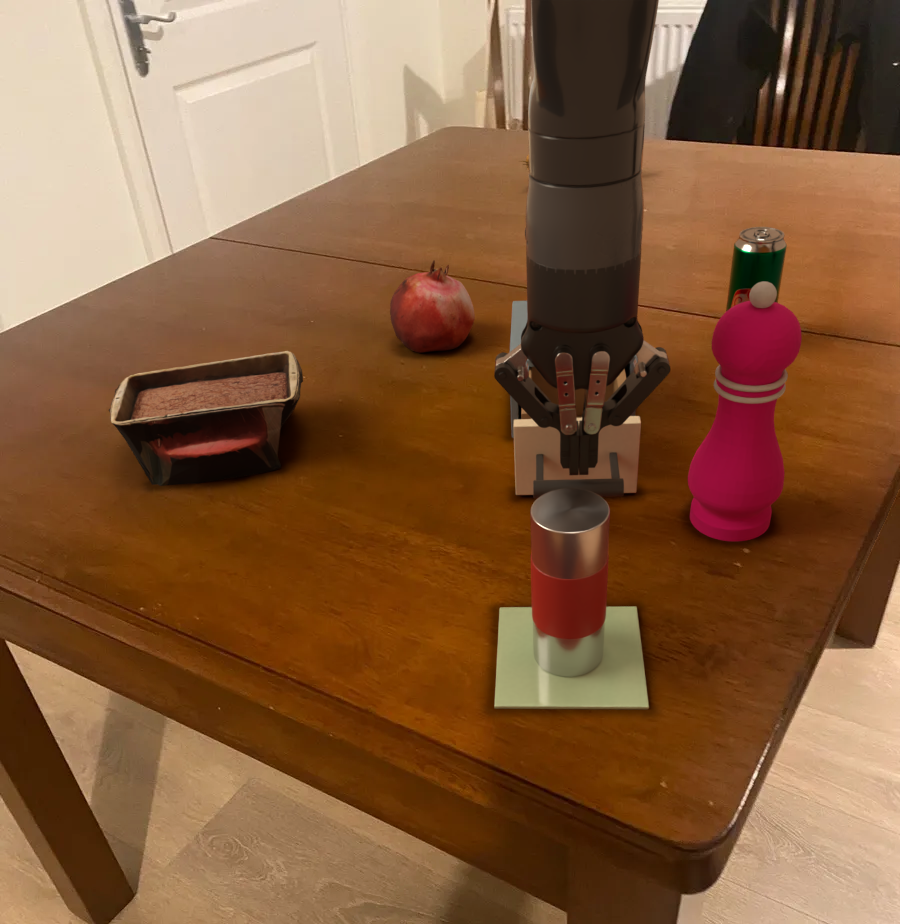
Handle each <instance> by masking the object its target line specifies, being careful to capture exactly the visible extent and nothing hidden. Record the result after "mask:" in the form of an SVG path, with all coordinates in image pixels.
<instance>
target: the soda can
mask: <svg viewBox="0 0 900 924" xmlns="http://www.w3.org/2000/svg"><path fill="white" fill-rule="evenodd" d="M785 235H786V234H785V232H784V231H783V230H781V229H780V228H779V229H778V228H775V227H771V226H770V227H769V226H754V227H753V226H751V227H747V228H745V229H742V230H741V231H739V233H738V238H737V239H736V240H735V242H734V243H733V248H732V258H731V265H730V274H729V280H728V281H729V282H728V290H727V297H726V298H727V300H726V305H725V306H726V307H725V312H726V311H728V310H729V309H730V308H732V307H734V306H735V305H738V304H740V303H742V302H746V301H750V298H749V294H750V291H751V289H752V287H753V286H754V285H755V284H757V283H759V282H762V281H765V282H769V283H772V284H773V285H774V287H775V288H776V291H777V296H776V299H775V301H774V302H776V303H779V298H780V291H781V285H782V280H783V279H782V278H783V273H784V272H783V271H784V266H785V259H786V253H787V248H788V247H787V246H788V245H787V241H786V239H785Z"/></svg>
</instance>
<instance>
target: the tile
mask: <svg viewBox="0 0 900 924" xmlns="http://www.w3.org/2000/svg"><path fill="white" fill-rule="evenodd" d="M497 630H498V631H497V649H496V666H495V684H494V687H495V688H494V703H493V707H494V709H495V710H497V709H498V710H499V709H500V710H503V709H504V710H509V709H510V710H649V709H650V703H649V694H648V686H647V679H646V678H647V677H646V671H645V670H646V669H645V662H644V653H643V645H642V637H641V629H640V622H639V613H638V607H637V606H636V605H635V606H634V605H632V606H629V605H628V606H627V605H626V606H624V605H623V606H622V605H621V606H620V605H619V606H606V619H605V630H604V652H603V659H602V661H601V663H600V664H599V665H598V667H597V668H595V669H594V670H593V671H591V672H589V673H587V674H585V675H581V676H576V677H562V676H557V675H553V674H551V673H549V672H547V671H545V670H544V669H542V668H541V667H540V666H539V665H538V664H537V662H536V660H535V658H534V653H533V619H532V606H508V607H507V606H506V607H505V606H501V607H499V610H498V627H497Z"/></svg>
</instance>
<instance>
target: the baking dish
mask: <svg viewBox="0 0 900 924" xmlns="http://www.w3.org/2000/svg"><path fill="white" fill-rule="evenodd" d="M303 376H304V375H303V368H302V367H301V364H300V362H299V360H298V359H297V357H296V354H295V353H294V352H291V351H290V350H285V351H284V350H283V351H279V352H270V353H265V354H258V355H257V354H256V355H251V356H245V357H238V358H232V359H231V358H230V359H225V360H219V361H218V360H217V361H211V362H203V363H197V364H190V365H185V366H177V367H170V368H165V369H157V370H151V371H144V372H139V373H135V374H131V375H129V376H126V377H124V379H123V380H122V381H120V383H119V384H118V386H117V388H115V390H114V394H113V398H112V399H111V402H110V408H109V409H108V412H109V413H110V415H109V420H110V422H111V424H112V425H113V426H114V427H115V428H116V429H117V431H118V433H120V435H121V436H122V437H123V439H124V441H125V442H126V444H127V445H128V447H129V449H130V450H131V452H132V454H133V455H134V457H135V459H136V460H137V462H138V464H139V466H140V467H141V469H142V470H143V472H144V474H145V475H146V477H147V479H148V481H149V482H150V484H151V485H152V486H153V485H156V486H159V487H165V486H174V485H175V486H176V485H177V486H178V485H189V484H191V485H195V484H198V485H199V484H202V483H203V484H204V483H209V482H216V481H221V480H230V479H235V478H236V479H237V478H243V477H248V476H254V475H259V474H260V475H261V474H264V473H269V472H274V471H276V470H279V469H282V464H281V461H280V458H279V447H280V446H279V445H280V439H281V437H280V436H281V429H282V427H283V426H284V425H285V424H286V422H287V420H288V419H289V418H290V417H291V415H292V414H293V413H294V411H295V408H296V406H297V404H298V403H299V400H300V399H301V388H302V383H303V382H304V377H303Z"/></svg>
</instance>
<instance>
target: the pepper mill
mask: <svg viewBox="0 0 900 924" xmlns="http://www.w3.org/2000/svg"><path fill="white" fill-rule="evenodd" d="M776 296H777V291H776V288H775V287H774V285H773V284H772V283H769V282H765V281H762V282H759V283H757V284H755V285H754V286H753V287H752V289H751V291H750V294H749V298H750V301H746V302H742V303H740V304H738V305H735V306H734V307H732V308H730V309H729V310H728V311H726V310H725V312H724V313H723V314H722V315H721V317H720V318H719V319H718V320H717V323H716V324H715V327H714V330H713V332H712V337H711V352H712V355H713V358H714V359H715V361H716V362H717V363H718V365H717V367H716V368H715V370H714V373H715V374H714V376H715V379H714V381H713V388H714V390H715V392H716V393H717V394H718V398H717V399H718V402H717V408H716V413H715V417H714V420H713V423H712V425H711V428H710V430H709V431H708V433H707V434H706V436H705V437H704V439H703V440H702V442H701V444H699V447H698V448H697V449H696V451H695V453H694V456H693V457H692V459H691V462H690V464H689V470H688V474H687V485H688V488H689V491H690V493H691V495H692V496H693V498H692V500H691V502H690V511H689V520H690V523H691V524H692V526H693V528H695V529H696V530H697V531H699V533H700V534H703V535H705V536H707V537H709V538H712V539H715V540H717V541H723V542H724V541H725V542H745V541H750V540H754V539H756V538H758V537H760V536H762V535H764V534H765V533H766V532H767V531H768V530H769V527H770V524H771V518H772V514H773V513H772V512H773V509H772V505H773V504H774V503H776V501H778V499H779V498H780V496H781V494H782V492H783V489H784V483H785V474H786V473H785V465H784V458H783V454H782V451H781V449H780V448H781V447H780V444H779V442H778V438H777V434H776V428H775V427H776V426H775V412H776V405H777V402H778V399H779V398H780V397H782V396H783V395H784V393H785V391H786V387H787V385H786V382H787V381H788V376H789V375H788V371H787V368H788V367H789V366H791V365H792V364H793V363H794V362H795V360H796V359H797V357H798V355H799V353H800V351H801V346H802V341H803V339H802V327H801V323H800V321H799V319H798V317H797V316H796V314H794V312H793V311H791V309H789V308H788V307H787V306H785V305H783V304H782V303H780V302H778V303H776V302H774V301H775V299H776Z"/></svg>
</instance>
